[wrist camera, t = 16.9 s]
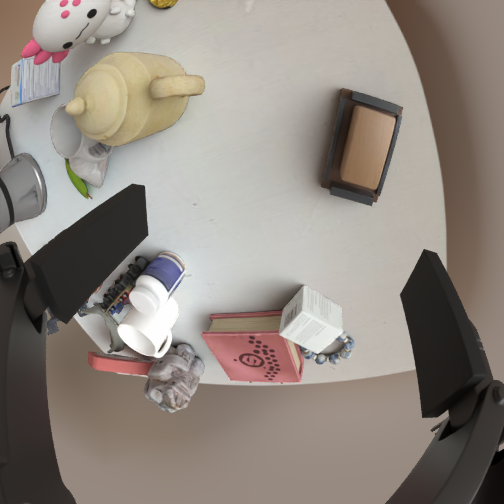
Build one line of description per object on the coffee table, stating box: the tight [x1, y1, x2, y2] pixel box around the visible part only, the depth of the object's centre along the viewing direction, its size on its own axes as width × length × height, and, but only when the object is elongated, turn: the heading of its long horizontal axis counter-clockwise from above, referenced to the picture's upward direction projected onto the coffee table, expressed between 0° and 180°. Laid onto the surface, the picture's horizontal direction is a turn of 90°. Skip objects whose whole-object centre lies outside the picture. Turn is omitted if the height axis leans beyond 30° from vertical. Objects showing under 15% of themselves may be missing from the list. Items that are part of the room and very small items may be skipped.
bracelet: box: [299, 331, 354, 364], centre depth 45 cm, size 10×10×2 cm
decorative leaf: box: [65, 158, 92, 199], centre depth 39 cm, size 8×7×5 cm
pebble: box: [69, 144, 108, 188], centre depth 34 cm, size 9×8×5 cm
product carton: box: [279, 285, 344, 354], centre depth 39 cm, size 6×6×7 cm
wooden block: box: [340, 105, 396, 189], centre depth 25 cm, size 4×4×8 cm
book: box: [201, 310, 304, 384], centre depth 47 cm, size 14×15×5 cm
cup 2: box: [117, 297, 179, 358], centre depth 48 cm, size 8×12×10 cm
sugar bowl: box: [65, 52, 205, 146], centre depth 22 cm, size 15×11×15 cm
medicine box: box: [11, 56, 60, 107], centre depth 26 cm, size 8×4×9 cm, turn 175°
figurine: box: [144, 344, 205, 413], centre depth 53 cm, size 10×11×15 cm
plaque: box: [88, 352, 154, 376], centre depth 59 cm, size 18×4×15 cm
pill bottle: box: [129, 252, 186, 315], centre depth 40 cm, size 6×6×10 cm
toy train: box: [99, 256, 150, 315], centre depth 50 cm, size 4×22×5 cm
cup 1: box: [51, 103, 114, 163], centre depth 29 cm, size 8×10×8 cm
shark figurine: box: [80, 304, 127, 353], centre depth 59 cm, size 14×17×8 cm
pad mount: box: [321, 88, 403, 206], centre depth 26 cm, size 12×7×3 cm, turn 172°
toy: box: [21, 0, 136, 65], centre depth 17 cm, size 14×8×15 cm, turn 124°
